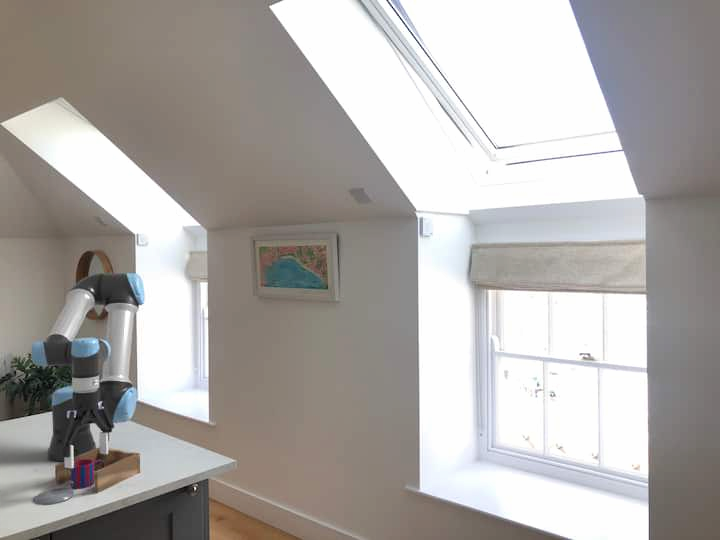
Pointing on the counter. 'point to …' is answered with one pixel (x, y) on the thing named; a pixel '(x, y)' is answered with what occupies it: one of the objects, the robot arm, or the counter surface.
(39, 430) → the counter surface
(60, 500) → the slate coaster
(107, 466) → the walnut bay
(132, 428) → the counter surface
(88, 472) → the mug
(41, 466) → the counter surface
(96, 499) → the counter surface
